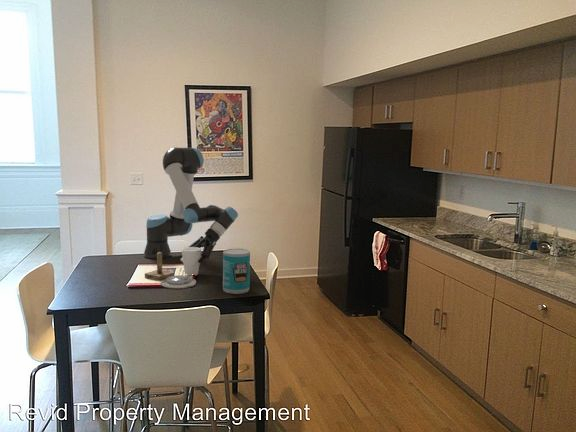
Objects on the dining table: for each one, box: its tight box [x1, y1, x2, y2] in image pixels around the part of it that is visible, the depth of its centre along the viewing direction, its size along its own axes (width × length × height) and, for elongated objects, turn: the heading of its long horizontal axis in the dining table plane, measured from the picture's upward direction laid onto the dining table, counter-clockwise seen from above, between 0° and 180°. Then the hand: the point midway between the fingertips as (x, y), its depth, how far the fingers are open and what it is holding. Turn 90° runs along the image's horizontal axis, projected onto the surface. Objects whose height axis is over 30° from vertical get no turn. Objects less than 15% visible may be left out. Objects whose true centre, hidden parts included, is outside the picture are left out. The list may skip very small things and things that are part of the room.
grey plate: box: [160, 275, 197, 290], centre depth 223 cm, size 16×16×2 cm
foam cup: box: [181, 246, 202, 276], centre depth 240 cm, size 10×9×13 cm
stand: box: [144, 252, 176, 282], centre depth 233 cm, size 10×10×12 cm
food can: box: [222, 248, 251, 295], centre depth 215 cm, size 12×12×18 cm
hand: (187, 264), depth 238 cm, fingers open, 13 cm apart
